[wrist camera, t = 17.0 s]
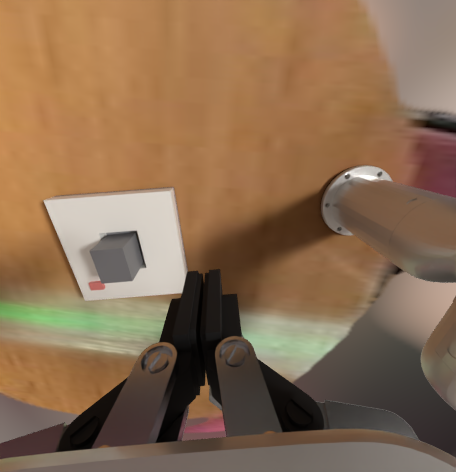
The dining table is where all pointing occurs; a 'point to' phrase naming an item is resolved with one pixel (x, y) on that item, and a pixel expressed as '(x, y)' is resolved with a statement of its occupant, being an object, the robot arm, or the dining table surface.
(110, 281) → the plug
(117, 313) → the dining table surface
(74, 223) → the socket
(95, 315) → the dining table surface
